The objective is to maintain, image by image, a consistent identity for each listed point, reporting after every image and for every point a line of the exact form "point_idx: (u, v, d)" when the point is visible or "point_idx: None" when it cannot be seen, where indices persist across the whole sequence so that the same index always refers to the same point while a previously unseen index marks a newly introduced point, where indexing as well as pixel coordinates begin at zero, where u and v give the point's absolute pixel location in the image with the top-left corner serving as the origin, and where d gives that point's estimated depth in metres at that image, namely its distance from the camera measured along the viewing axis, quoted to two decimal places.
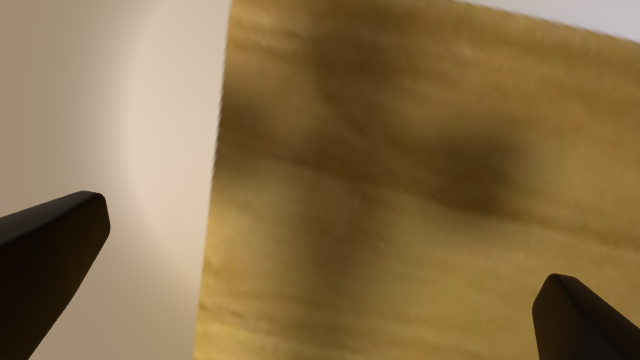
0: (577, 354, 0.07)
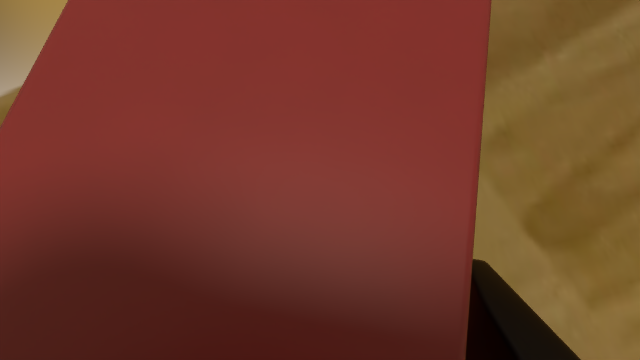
0: (474, 335, 0.07)
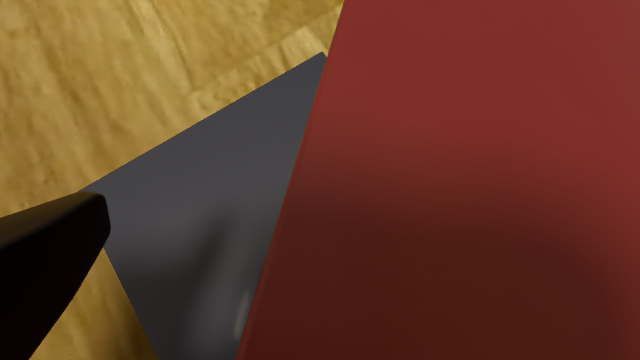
0: None
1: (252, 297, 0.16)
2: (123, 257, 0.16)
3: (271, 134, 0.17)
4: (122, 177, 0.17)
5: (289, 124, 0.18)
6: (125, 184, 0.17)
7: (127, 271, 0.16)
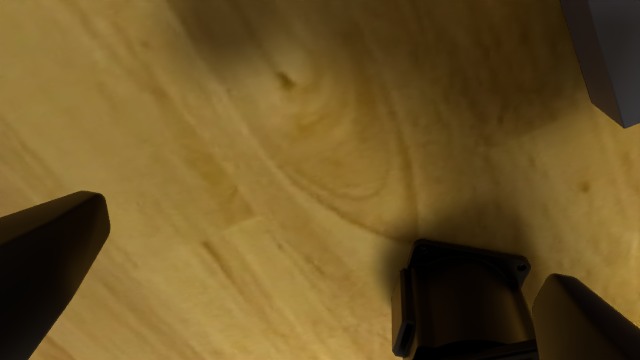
0: (577, 354, 0.07)
1: None
2: None
3: None
4: None
5: None
6: None
7: None
